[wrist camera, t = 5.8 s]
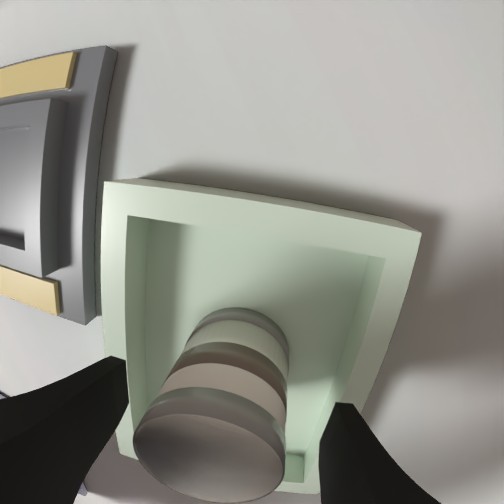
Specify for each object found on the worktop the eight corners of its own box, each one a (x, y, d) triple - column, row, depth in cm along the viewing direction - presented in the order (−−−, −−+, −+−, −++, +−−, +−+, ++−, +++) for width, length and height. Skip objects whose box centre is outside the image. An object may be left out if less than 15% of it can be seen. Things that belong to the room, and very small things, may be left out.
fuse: (284, 394, 13) (277, 509, 7) (192, 385, 14) (146, 487, 8) (294, 311, 12) (293, 423, 6) (188, 302, 12) (119, 397, 7)
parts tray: (317, 460, 15) (318, 494, 12) (136, 424, 16) (119, 453, 13) (397, 219, 11) (421, 233, 9) (136, 178, 12) (104, 181, 10)
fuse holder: (96, 316, 14) (71, 337, 12) (-23, 273, 15) (-47, 284, 13) (117, 52, 11) (90, 36, 9) (-15, 78, 12) (-41, 74, 9)
